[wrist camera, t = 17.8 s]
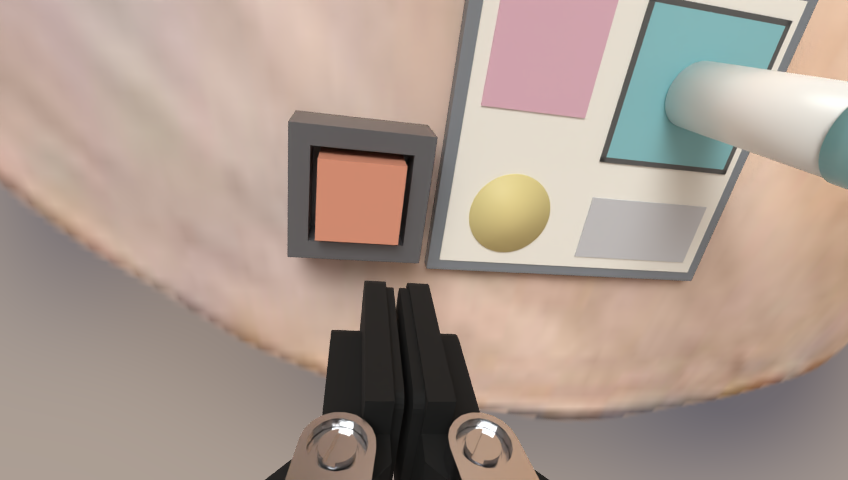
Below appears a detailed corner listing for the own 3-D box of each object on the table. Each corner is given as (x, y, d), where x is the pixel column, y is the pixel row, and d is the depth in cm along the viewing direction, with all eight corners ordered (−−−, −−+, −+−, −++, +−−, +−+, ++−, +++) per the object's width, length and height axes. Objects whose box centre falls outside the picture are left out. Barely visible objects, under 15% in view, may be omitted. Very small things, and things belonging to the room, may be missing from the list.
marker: (737, 60, 24) (1007, 96, 14) (711, 129, 25) (937, 204, 16) (676, 57, 23) (918, 93, 13) (654, 128, 25) (854, 205, 15)
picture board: (809, -10, 24) (827, -12, 23) (683, 275, 31) (693, 282, 30) (477, -80, 20) (483, -85, 19) (424, 262, 28) (427, 269, 27)
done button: (402, 154, 23) (407, 166, 21) (393, 226, 25) (397, 245, 23) (320, 146, 22) (317, 158, 20) (318, 221, 24) (314, 240, 22)
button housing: (427, 125, 24) (437, 137, 21) (412, 240, 27) (418, 263, 24) (295, 110, 22) (288, 121, 20) (294, 232, 25) (287, 256, 23)
